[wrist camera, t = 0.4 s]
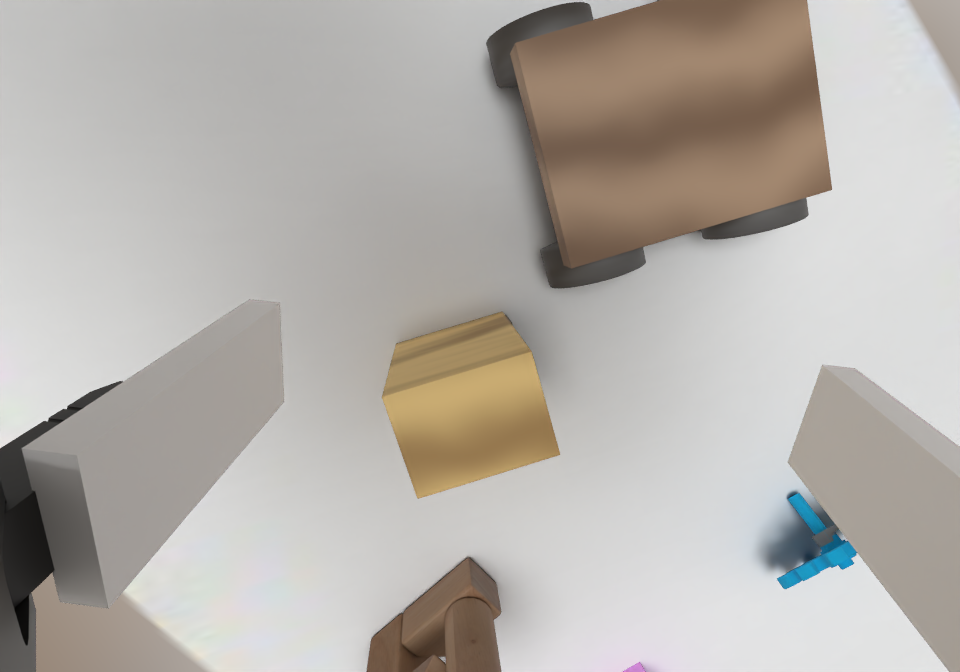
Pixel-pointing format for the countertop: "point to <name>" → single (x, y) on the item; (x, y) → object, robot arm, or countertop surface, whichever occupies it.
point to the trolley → (665, 124)
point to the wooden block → (443, 628)
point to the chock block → (467, 404)
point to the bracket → (635, 668)
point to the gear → (826, 540)
